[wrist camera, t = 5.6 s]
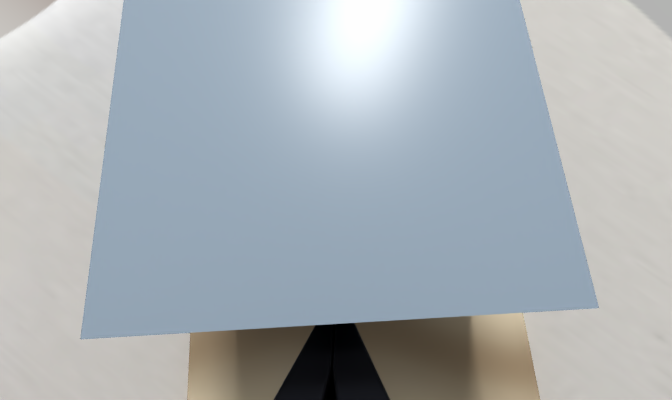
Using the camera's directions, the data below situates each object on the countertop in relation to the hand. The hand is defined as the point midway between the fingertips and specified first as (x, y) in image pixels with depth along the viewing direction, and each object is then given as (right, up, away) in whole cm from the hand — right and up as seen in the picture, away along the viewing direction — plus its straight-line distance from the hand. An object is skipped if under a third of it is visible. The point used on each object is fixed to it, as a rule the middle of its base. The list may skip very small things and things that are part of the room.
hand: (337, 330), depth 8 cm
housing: (0, +3, +7) cm, 8 cm away
